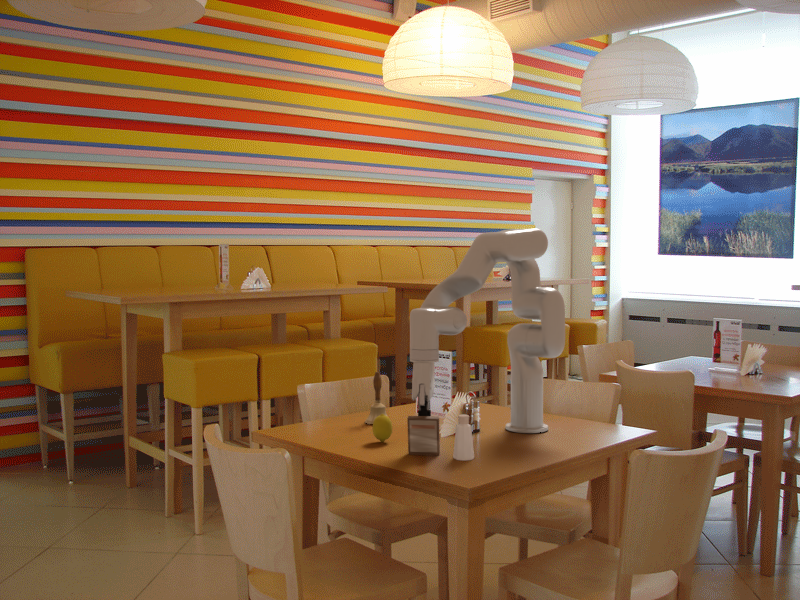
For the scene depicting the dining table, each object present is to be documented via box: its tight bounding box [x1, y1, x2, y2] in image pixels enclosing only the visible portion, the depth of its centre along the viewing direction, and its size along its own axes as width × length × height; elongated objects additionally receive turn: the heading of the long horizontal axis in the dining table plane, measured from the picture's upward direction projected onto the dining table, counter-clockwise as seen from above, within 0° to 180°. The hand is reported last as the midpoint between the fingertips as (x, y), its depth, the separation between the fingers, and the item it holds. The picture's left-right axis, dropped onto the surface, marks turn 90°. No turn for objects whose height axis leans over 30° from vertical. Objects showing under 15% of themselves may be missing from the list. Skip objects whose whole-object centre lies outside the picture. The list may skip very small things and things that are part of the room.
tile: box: [407, 415, 441, 456], centre depth 198 cm, size 2×8×10 cm, turn 82°
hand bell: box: [364, 371, 388, 425], centre depth 240 cm, size 8×8×16 cm
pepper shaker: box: [452, 413, 475, 462], centre depth 194 cm, size 5×5×11 cm
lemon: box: [372, 414, 393, 443], centre depth 212 cm, size 6×6×8 cm
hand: (424, 425), depth 200 cm, fingers closed
